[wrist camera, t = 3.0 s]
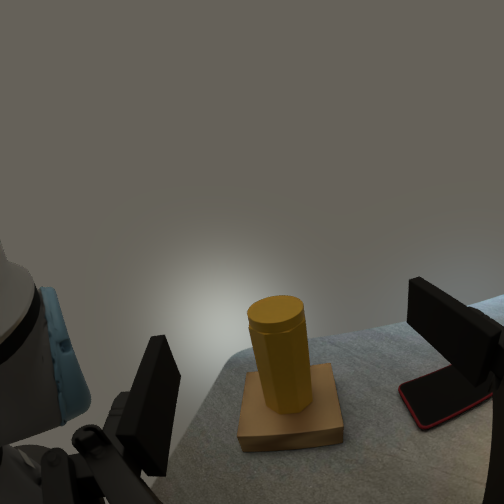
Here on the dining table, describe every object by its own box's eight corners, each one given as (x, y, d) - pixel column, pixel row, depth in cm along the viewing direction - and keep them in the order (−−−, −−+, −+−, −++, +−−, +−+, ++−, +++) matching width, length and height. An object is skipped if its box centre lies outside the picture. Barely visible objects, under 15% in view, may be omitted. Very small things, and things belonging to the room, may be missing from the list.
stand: (242, 452, 24) (224, 403, 22) (250, 389, 34) (238, 338, 32) (342, 443, 23) (345, 390, 21) (331, 380, 32) (328, 327, 30)
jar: (265, 415, 26) (244, 325, 22) (267, 384, 30) (249, 298, 27) (313, 411, 25) (305, 318, 22) (310, 380, 30) (301, 292, 26)
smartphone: (396, 385, 27) (488, 346, 27) (395, 390, 28) (487, 351, 27) (422, 429, 20) (519, 375, 20) (420, 434, 21) (517, 381, 20)
